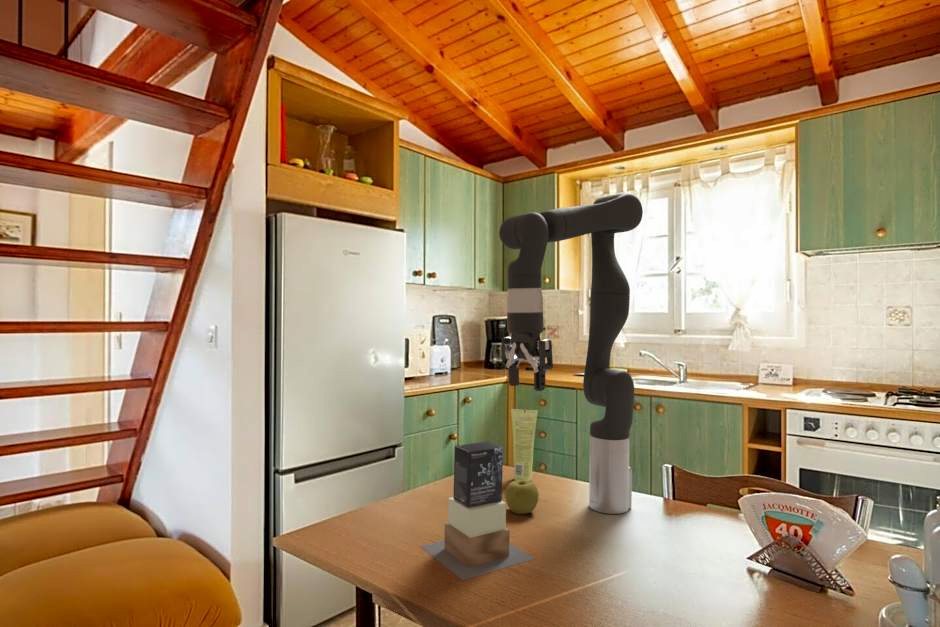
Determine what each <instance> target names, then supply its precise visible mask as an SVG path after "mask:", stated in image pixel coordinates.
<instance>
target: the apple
mask: <svg viewBox="0 0 940 627" xmlns="http://www.w3.org/2000/svg"><path fill="white" fill-rule="evenodd" d="M504 494H505V496H504V497H505V501H506V502H505V503H506V506H508V508H509V509H510V511H511V512H513V513H514V514H515V515H516V514H517V515H526V514H529V513H532V512H533V511H534V510H535V509H536V507H537V505H538V502H539V490H538V487H537V485H535V483H533V482H532V481H531V480H530V481H527V480H513V481H512V482H510V483H509V484H508V485H507V486H506V489H505V493H504Z"/></svg>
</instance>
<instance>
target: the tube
mask: <svg viewBox="0 0 940 627" xmlns="http://www.w3.org/2000/svg"><path fill="white" fill-rule="evenodd" d="M538 413H539V411H538V409H537V410H536V409H518V408H517V409H515V408H511V409H510V416H511V424H512V440H513V443H512V444H513V479H514V481H516V480H527V481H530V482H531V481H532V475H533V462H534V461H533V459H534V448H535V445H534V444H535V437H536V436H535V435H536V434H535V433H536V427H537V419H538Z"/></svg>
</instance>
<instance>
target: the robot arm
mask: <svg viewBox="0 0 940 627" xmlns="http://www.w3.org/2000/svg"><path fill="white" fill-rule="evenodd" d="M642 220H643V206H642V202H641V200H640V199H639V198H638V197H637V196H636V195H634V194H633V193H629V192H619V193H615V194H610V195H606V196H601V197H598V198H597V199H595V201H594V202H593V203H592V204H583V205H575V206H565V207H560V208H552V209H548V210H545V211H542V212H534V211H533V212H526V213H522V214H518V215H512V216H509V217H507V218H506V219H504V220H503V221H502V223H501V224H500V226H499V232H498V235H499V239H500V242H501V243H502V244H503V245H504V246H505V247H507V248H509V249H510V250H519V254H518V257H517V258H516V259H514V260H513V261H510V262H509V264H508V265H507V296H506V318H507V319H506V325H507V326H506V327H507V328H506V329H507V330H506V331H507V333H508V334H511V336H504V337H501V354H500V355H501V360H500V361H501V364H502V365H505V366H506V368H507V370H508V374H507V375H508V385H509V386H510V387H515V386H517V387H518V386H519V385H520V368H519V366H520V363H521V361H522V360H525V361H527V363H529V364H530V365H531V367H532V369H533V371H534V372H533V383H534V384H533V388H534V391H536V392H540V391H545V388H546V372H547V371H549V370H552V369H554V364H553V361H554V360H553V359H554V358H553V347H552V346H553V345H552V340H551V338H549V339H541V334H542V333H544V297H543V292H542V266H543V263H544V261H545V260H544V259H545V254H546V251H547V245H548V243H557V242H561V241H565V240H571V239H574V238H578V237H581V236H584V235H589V234H590V238H591V239H590V240H591V282H590V283H591V284H590V286H591V287H590V295H589V296H590V302H589V330H588V331H589V332H588V345H587V351H586V352H587V353H586V359H585V360H586V361H585V366H584V372H583V380H582V383H583V385H582V390H583V394H584V398H585V399H586V401H587V402H588V403H589V404H591V405H595V406H599V407H603V408H604V410H605V411H604V417H603V418H602V419H598V420H595V421H592V422H591V423H590V426H589V469H588V470H589V471H588V472H589V478H588V480H589V482H588V483H589V484H588V485H589V487H588V490H589V491H588V494H589V495H588V506H589V508H590V509H591V510H593V511H596V512H597V513H602V514H608V515H609V514H610V515H620V514H624V513H627V512H628V511H629V509H631V508H632V504H633V503H632V494H633V492H632V489H633V488H632V487H633V486H632V485H633V483H632V482H633V480H632V479H633V478H632V477H633V476H632V475H633V474H632V473H633V471H632V467H630V432H631V428H632V425H633V421H634V419H633V418H634V402H635V384H634V380H633V377H632V375H631V374H630V373H629V372H627V371H625V370H622V369H615V368H614V369H613V368H610V364H611V363H610V362H611V355H612V354H611V353H612V348H613V346H614V344H615V341H616V339H617V338H618V336H619V334H620V333H621V331H622V330H623V328H624V326H625V324H626V322H627V320H628V317H629V312H630V297H631V296H630V294H631V289H630V284H629V281H628V279H627V277H626V275H625V273H624V271H623V269H622V267H621V265H620V264H619V261H618V260H617V257H616V252H615V234H620V233H625V232H630V231H633V230H634V229H636V228H637V227H638V226H639V225H640V223H641V222H642ZM507 355H508V356H507ZM507 357H508V358H507ZM538 364H539V365H538Z"/></svg>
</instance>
